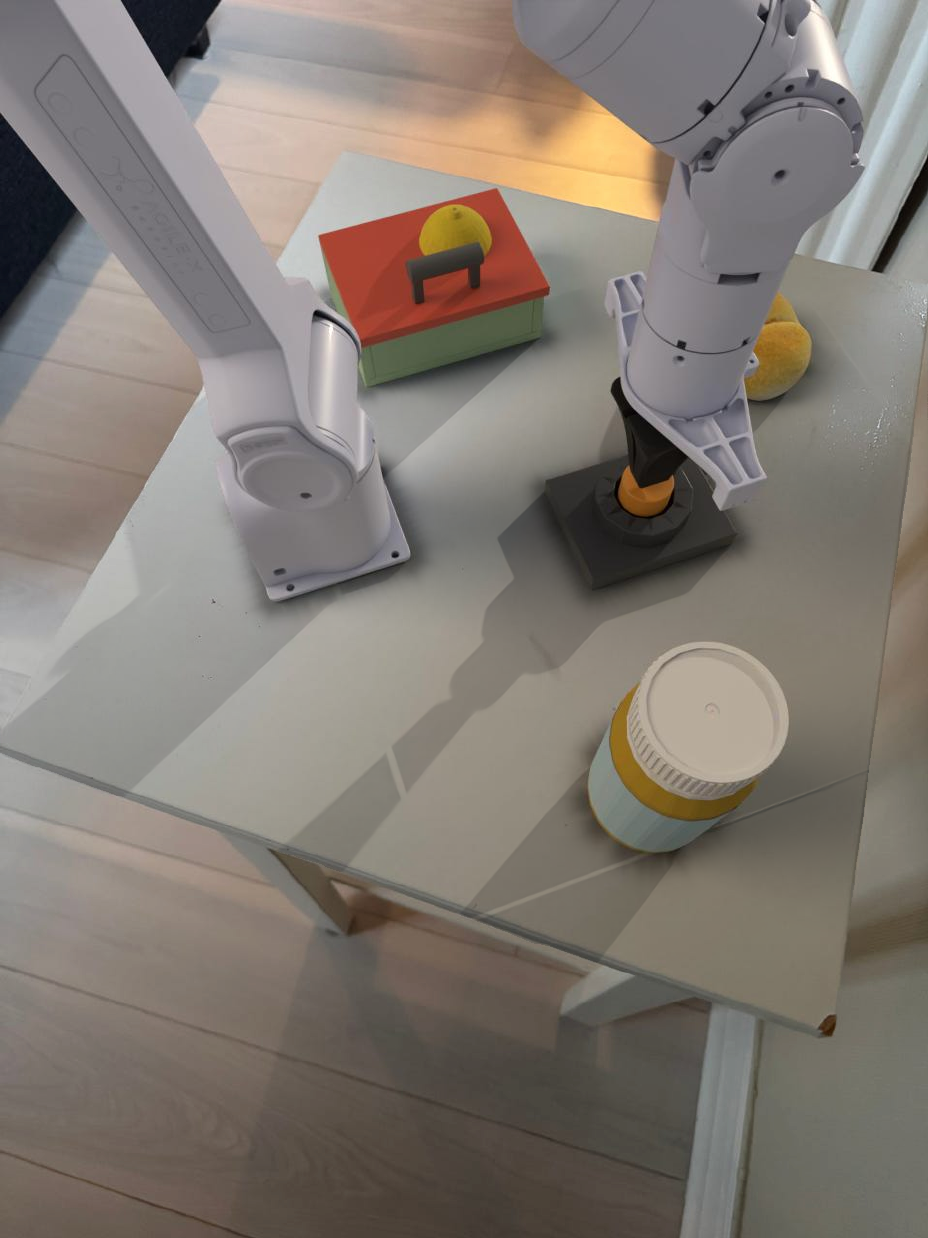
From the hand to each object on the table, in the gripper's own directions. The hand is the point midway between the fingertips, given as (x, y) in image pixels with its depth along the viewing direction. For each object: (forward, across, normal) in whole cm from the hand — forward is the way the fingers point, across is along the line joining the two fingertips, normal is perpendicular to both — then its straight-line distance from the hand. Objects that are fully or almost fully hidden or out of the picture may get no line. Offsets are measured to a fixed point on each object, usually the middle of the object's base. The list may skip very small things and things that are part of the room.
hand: (650, 475), depth 51 cm
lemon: (+1, +22, +5) cm, 23 cm away
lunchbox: (+5, +22, +7) cm, 23 cm away
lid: (0, +21, +7) cm, 22 cm away
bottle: (+5, -17, +7) cm, 19 cm away
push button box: (+5, 0, 0) cm, 5 cm away
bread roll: (+5, +10, -13) cm, 17 cm away
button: (+2, 0, 0) cm, 2 cm away
